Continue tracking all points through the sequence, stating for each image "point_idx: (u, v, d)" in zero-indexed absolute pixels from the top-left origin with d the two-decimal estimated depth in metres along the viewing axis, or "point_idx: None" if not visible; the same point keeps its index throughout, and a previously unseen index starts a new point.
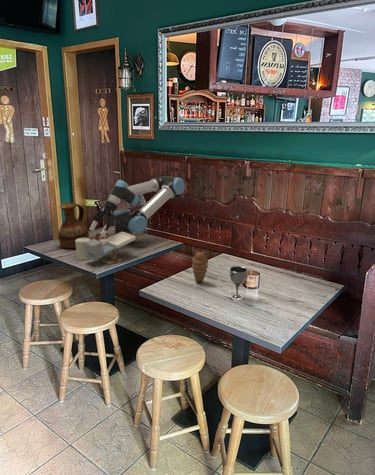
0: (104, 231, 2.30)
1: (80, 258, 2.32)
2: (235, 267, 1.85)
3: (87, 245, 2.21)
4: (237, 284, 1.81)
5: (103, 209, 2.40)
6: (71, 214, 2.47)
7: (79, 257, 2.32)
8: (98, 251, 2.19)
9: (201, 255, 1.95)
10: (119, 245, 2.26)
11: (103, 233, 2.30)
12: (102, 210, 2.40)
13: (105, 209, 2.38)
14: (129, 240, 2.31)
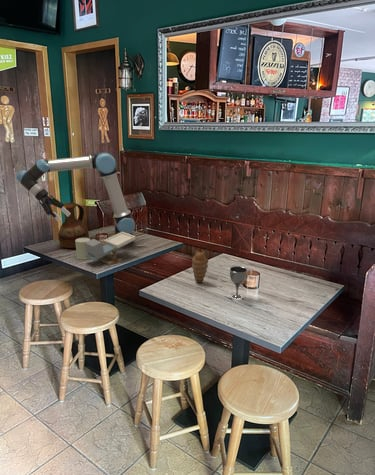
0: (56, 218, 2.22)
1: (80, 258, 2.32)
2: (235, 267, 1.85)
3: (87, 245, 2.21)
4: (237, 284, 1.81)
5: None
6: (71, 214, 2.47)
7: (79, 257, 2.32)
8: (98, 251, 2.19)
9: (201, 255, 1.95)
10: (119, 245, 2.26)
11: (58, 219, 2.22)
12: (50, 199, 2.32)
13: None
14: (129, 240, 2.31)
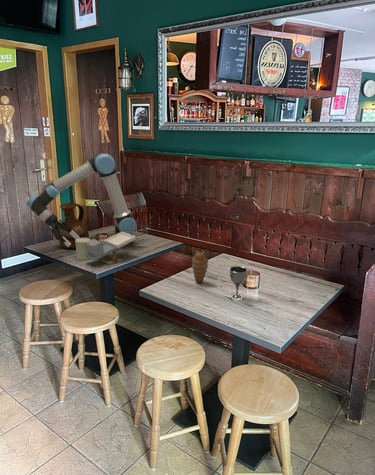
0: (66, 243, 2.26)
1: (80, 258, 2.32)
2: (235, 267, 1.85)
3: (87, 245, 2.21)
4: (237, 284, 1.81)
5: None
6: (71, 214, 2.47)
7: (79, 257, 2.32)
8: (98, 251, 2.19)
9: (201, 255, 1.95)
10: (119, 245, 2.26)
11: (67, 244, 2.26)
12: None
13: None
14: (129, 240, 2.31)
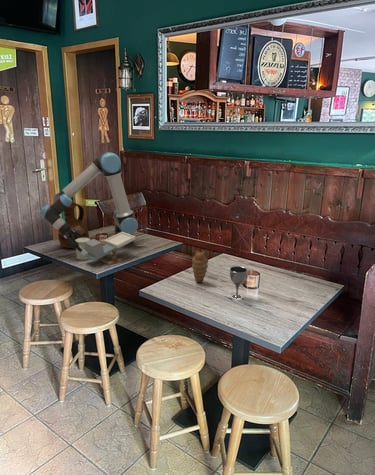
0: (82, 252, 2.29)
1: (80, 258, 2.32)
2: (235, 267, 1.85)
3: (87, 245, 2.21)
4: (237, 284, 1.81)
5: None
6: (71, 214, 2.47)
7: (79, 257, 2.32)
8: (98, 251, 2.19)
9: (201, 255, 1.95)
10: (119, 245, 2.26)
11: (84, 253, 2.30)
12: None
13: None
14: (129, 240, 2.31)
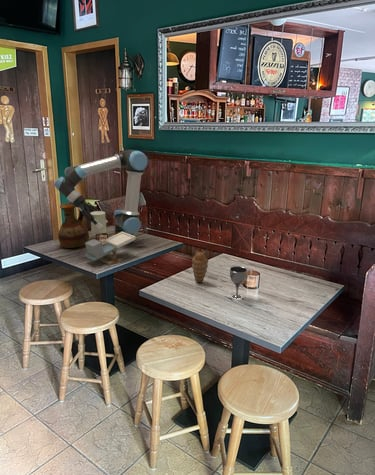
0: (97, 225, 2.24)
1: (95, 231, 2.26)
2: (235, 267, 1.85)
3: (87, 245, 2.21)
4: (237, 284, 1.81)
5: None
6: (71, 214, 2.47)
7: (94, 230, 2.26)
8: (98, 251, 2.19)
9: (201, 255, 1.95)
10: (119, 245, 2.26)
11: (99, 226, 2.24)
12: None
13: None
14: (129, 240, 2.31)
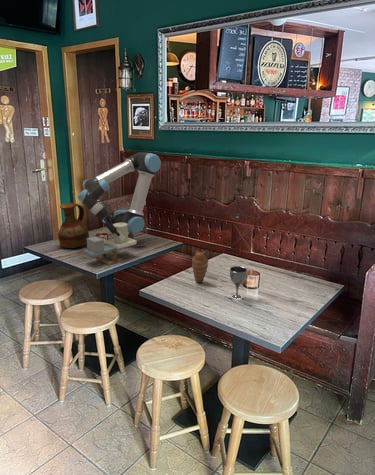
0: (120, 236, 2.28)
1: (118, 243, 2.31)
2: (235, 267, 1.85)
3: (88, 241, 2.21)
4: (237, 284, 1.81)
5: None
6: (71, 214, 2.47)
7: (117, 242, 2.31)
8: (98, 248, 2.19)
9: (201, 255, 1.95)
10: (120, 246, 2.27)
11: (122, 238, 2.29)
12: None
13: None
14: (130, 243, 2.32)
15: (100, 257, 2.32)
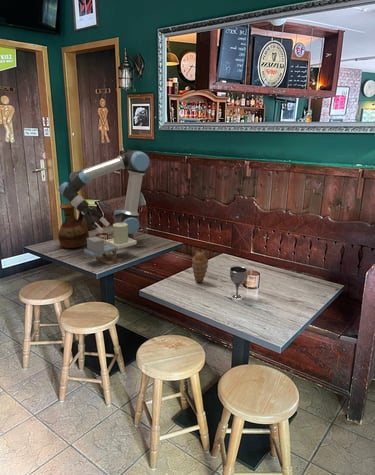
0: (98, 229, 2.26)
1: (118, 243, 2.31)
2: (235, 267, 1.85)
3: (88, 241, 2.21)
4: (237, 284, 1.81)
5: None
6: (71, 214, 2.47)
7: (117, 242, 2.31)
8: (98, 248, 2.19)
9: (201, 255, 1.95)
10: (120, 246, 2.27)
11: (99, 230, 2.26)
12: None
13: None
14: (130, 243, 2.32)
15: (100, 257, 2.32)
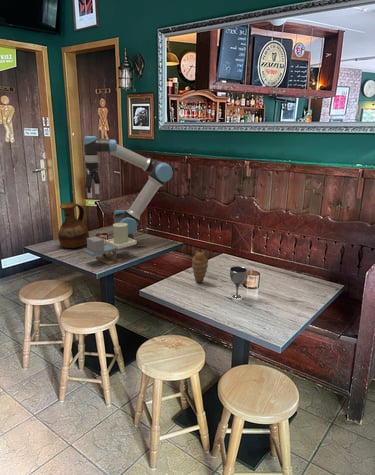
0: (89, 194, 2.30)
1: (118, 243, 2.31)
2: (235, 267, 1.85)
3: (88, 241, 2.21)
4: (237, 284, 1.81)
5: None
6: (71, 214, 2.47)
7: (117, 242, 2.31)
8: (98, 248, 2.19)
9: (201, 255, 1.95)
10: (120, 246, 2.27)
11: (89, 196, 2.31)
12: None
13: None
14: (130, 243, 2.32)
15: (100, 257, 2.32)
